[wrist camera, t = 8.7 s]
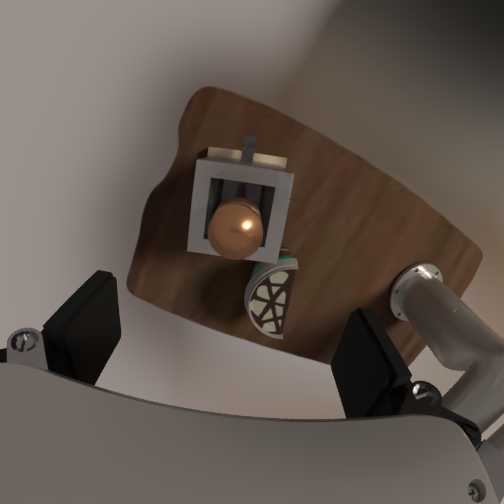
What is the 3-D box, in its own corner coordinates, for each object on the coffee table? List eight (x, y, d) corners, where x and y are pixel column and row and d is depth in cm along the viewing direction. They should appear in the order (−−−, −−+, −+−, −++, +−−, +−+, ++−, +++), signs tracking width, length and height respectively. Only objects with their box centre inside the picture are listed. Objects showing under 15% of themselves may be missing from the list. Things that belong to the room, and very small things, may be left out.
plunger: (263, 175, 38) (277, 204, 20) (257, 211, 40) (264, 271, 22) (225, 169, 38) (203, 193, 19) (220, 206, 40) (196, 261, 21)
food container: (249, 234, 44) (249, 259, 35) (288, 238, 44) (299, 264, 35) (241, 302, 48) (239, 338, 39) (276, 305, 49) (282, 342, 39)
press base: (285, 158, 40) (287, 158, 38) (272, 228, 44) (273, 232, 42) (210, 146, 39) (208, 146, 37) (201, 218, 43) (199, 221, 41)
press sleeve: (282, 144, 37) (300, 143, 24) (267, 225, 41) (276, 263, 28) (217, 134, 37) (201, 128, 23) (206, 216, 41) (187, 250, 28)
